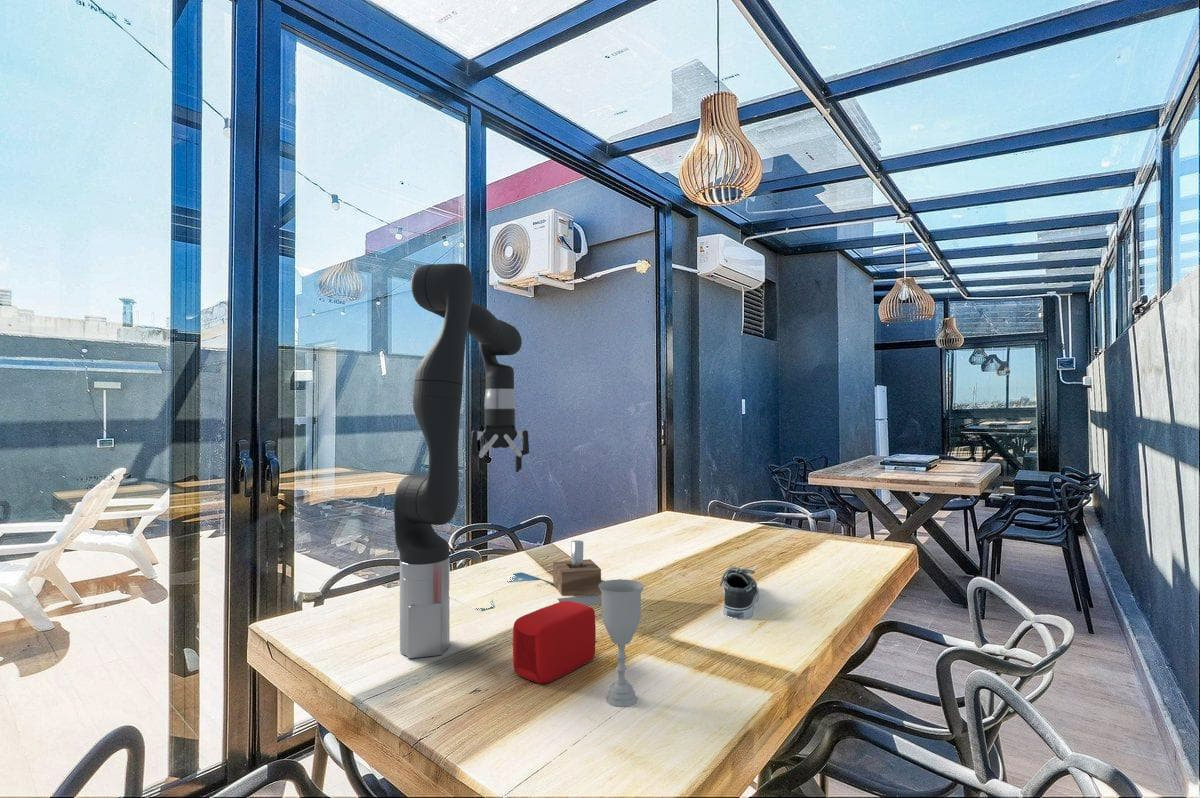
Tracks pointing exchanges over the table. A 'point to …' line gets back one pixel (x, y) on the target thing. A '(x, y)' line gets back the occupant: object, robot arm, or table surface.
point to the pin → (577, 554)
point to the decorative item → (553, 641)
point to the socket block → (576, 578)
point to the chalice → (621, 630)
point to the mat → (584, 600)
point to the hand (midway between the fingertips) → (500, 472)
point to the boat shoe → (739, 592)
